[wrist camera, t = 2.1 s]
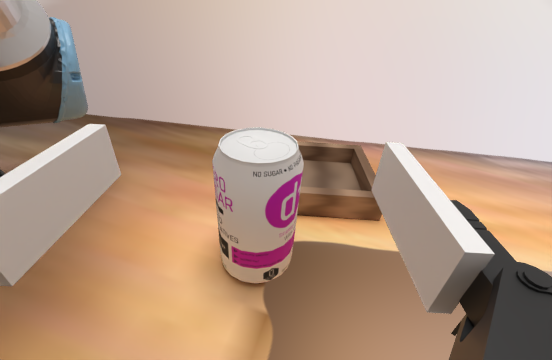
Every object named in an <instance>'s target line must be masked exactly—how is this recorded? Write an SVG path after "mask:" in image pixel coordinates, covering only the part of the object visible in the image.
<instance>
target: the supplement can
mask: <svg viewBox="0 0 552 360" xmlns="http://www.w3.org/2000/svg"><path fill="white" fill-rule="evenodd" d="M212 162H213V173H214V184H215V196H216V207H217V218H218V229H219V241H220V252H221V259H222V262H223V266H224V268H225V269H226V270H227V271H228V272H229V274H230V275H231V276H233V277H235V278H237V279H239V280H241V281H243V282H249V283H262V282H269V281H271V280H273V279H275V278H277V277H279V276H280V275H281V274H282V273H283V272H284V271H285V270H286V269H287V268H288V266H289V263H290V260H291V257H292V249H293V242H294V234H295V227H296V219H297V211H298V204H299V196H300V188H301V181H302V173H303V166H304V162H303V158H302V155H301V153H300V151H299V147H298V143H297V141H296V140H295V139H294V138H293V137H292V136H290V135H288V134H286V133H284V132H282V131H278V130H274V129H269V128H260V127H258V128H244V129H239V130H235V131H232V132H230V133H227V134H226V135H224V136H223V137H222V138H221V139H220V142H219V146H218V148H217V150H216V152H215V154H214V157H213V161H212Z"/></svg>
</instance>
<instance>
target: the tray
mask: <svg viewBox="0 0 552 360" xmlns="http://www.w3.org/2000/svg"><path fill="white" fill-rule="evenodd" d="M297 143H298V147H299V151H300V153H301V155H302V158H303V162H304V166H303V173H302V181H301V188H300V196H299V204H298V211H297V215H305V216H320V217H335V218H350V219H365V220H380V217H381V215H382V212H381V210H380V208H379V206H378V204H377V201H376V199H375V197H374V195H373V193H372V186H373V183H374V180H375V177H376V175H375V173H374V171H373V169H372V167H371V165H370V163H369V161H368V159H367V157H366V155H365V153H364V151H363V149H362V147H361V146H358V145H343V144H328V143H313V142H298V141H297Z"/></svg>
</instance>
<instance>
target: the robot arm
mask: <svg viewBox="0 0 552 360" xmlns="http://www.w3.org/2000/svg"><path fill="white" fill-rule="evenodd" d="M87 110H88V105H87V100H86V95H85V91H84V86H83V82H82V77H81V73H80V68H79V63H78V58H77V54H76V50H75V45H74V40H73V36H72V32H71V28H70V25H69V24H68V23H67V22H65V21H64V20H59V19H56V18H52V17H50V18H48V15H47V14H46V12H45V10H44V9H43V7H42V6H41V5H40V3H39V2H38V1H36V0H0V127H9V126H20V125H30V124H41V123H51V122H53V123H58V122H61V121H63V120H69V119H76V118H80V117H82V116H84V115H85V114H86V112H87ZM120 176H121V172H120V169H119V166H118V163H117V160H116V157H115V153H114V150H113V147H112V144H111V141H110V138H109V134H108V131H107V128H106V125H99V124H88V125H86V126H85V127H83V128H82V129H80V130H78V131H77V132H75V133H73V134H72V135H70V136H68V137H67V138H65V139H63V140H62V141H60V142H58V143H57V144H55V145H53V146H52V147H50V148H48V149H47V150H45V151H43V152H42V153H40V154H38V155H37V156H35V157H33V158H32V159H30V160H28V161H27V162H25V163H23V164H22V165H20V166H18V167H17V168H15V169H13V170H12V171H10V172H8V173H7V174H5V173H4V172H3V171H2V170H0V286H13V285H14V284H15V283H16V282H17V281H18V280H19V279H20V278H21V277H22V276H23V275H24V274H25V273H26V272H27V271H28V270H29V269H30V268H31V267H32V266H33V265H34V264H35V263H36V262H37V261H38V259H39V258H40V257H41V256H42V255H43V254H44V253H45V252H46V251H47V250H48V249H49V248H50V247H51V246H52V245H53V244H54V243H55V242H56V241H57V240H58V239H59V238H60V237H61V236H62V235H63V234H64V233H65V232H66V231H67V230H68V229H69V228H70V227H71V226H72V225H73V224H74V223H75V222H76V221H77V220H78V219H79V218H80V216H81V215H82V214H83V213H84V212H85V211H86V210H87V209H88V208H89V207H90V206H91V205H92V204H93V203H94V202H95V201H96V200H97V199H98V198H99V197H100V196H101V195H102V194H103V193H104V192H105V191H106V190H107V189H108V188H109V187H110V186H111V185H112V184H113V183H114V182H115V181H116V180H117V179H118V178H119V177H120ZM372 193H373V195H374V197H375V199H376V201H377V204H378V206H379V208H380V210H381V212H382V215H383V217H384V219H385V221H386V223H387V226H388V228H389V230H390V232H391V234H392V237H393V239H394V241H395V243H396V245H397V248H398V250H399V252H400V254H401V256H402V259H403V260H404V263H405V265H406V267H407V270H408V271H409V274H410V276H411V278H412V281H413V283H414V285H415V287H416V289H417V292H418V294H419V296H420V298H421V300H422V303H423V305H424V307H425V309H426V311H427V312H433V313H449V314H451V313H452V312H453V310H454V309H455V308H456V306H457V305H458V304H459V302H460V304H461V305H462V307H463V308H464V310H465V312H466V315H465V316H464V318H463V319H462V321H461V322H460V323H459V324H458V325H457V327H456V328H455V329H454V330H453V332H452V333H451V334H453V335H454V336H455V335H456V334H457V336H456V339H455V342H454V345H453V348H452V352H451V354H450V358H449V360H552V277H551V276H549V275H548V274H547V273H545V272H543V271H542V270H540V269H538V268H536V267H534V266H531V265H528V264H525V263H521V262H516V261H515V260H514V258H513V257H512V256H511V255H510V254H509V253H508V252H507V251H506V249H505V248H504V247H503V246H502V245H501V244H500V243H499V242H498V240H497V239H496V238H495V237H494V236H493V235H492V234H491V233H490V232H489V231H487V228H486V227H485V226H484V225H483V224H482V223H481V222H479V219H478V218H477V217H476V216H475V215H474V214H473V212H472V211H471V210H470V209H468V208H467V207H465V206H464V205H462V204H461V203H460V202H458V201H457V200H449V198H448V197H447V196H446V195H445V194H444V192H443V191H442V190H441V189H440V188H439V186H438V185H437V184H436V183H435V182H434V180H433V179H432V178H431V177H430V176H429V174H428V173H427V172H426V171H425V170H424V168H423V167H422V166H421V165H420V164H419V162H418V161H417V160H416V159H415V158H414V156H413V155H412V154H411V153H410V152H409V150H408V149H407V148H406V147H405V146H404V145H403V144H402V143H393V142H386V144H385V147H384V150H383V153H382V157H381V160H380V163H379V167H378V170H377V173H376V177H375V180H374V183H373V186H372Z"/></svg>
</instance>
